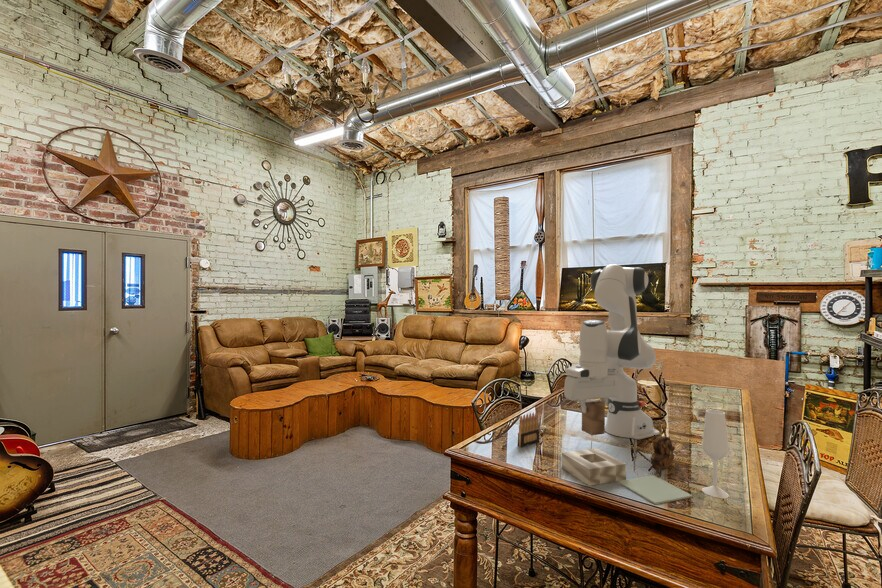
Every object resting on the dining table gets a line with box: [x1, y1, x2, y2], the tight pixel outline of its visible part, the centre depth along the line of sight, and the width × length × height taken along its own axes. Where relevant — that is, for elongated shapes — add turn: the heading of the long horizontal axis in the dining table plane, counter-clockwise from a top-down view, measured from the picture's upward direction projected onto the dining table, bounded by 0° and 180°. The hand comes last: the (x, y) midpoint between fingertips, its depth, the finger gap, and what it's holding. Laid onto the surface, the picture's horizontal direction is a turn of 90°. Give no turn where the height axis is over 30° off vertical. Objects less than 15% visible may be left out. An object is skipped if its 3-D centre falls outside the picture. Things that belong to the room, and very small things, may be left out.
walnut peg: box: [581, 399, 606, 436], centre depth 133 cm, size 5×5×10 cm
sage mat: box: [617, 474, 693, 505], centre depth 121 cm, size 14×14×1 cm
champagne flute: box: [701, 409, 730, 499], centre depth 120 cm, size 7×7×24 cm
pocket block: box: [561, 447, 627, 487], centre depth 132 cm, size 14×14×5 cm
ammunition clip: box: [517, 411, 540, 448], centre depth 159 cm, size 11×2×12 cm, turn 126°
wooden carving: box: [650, 435, 676, 471], centre depth 138 cm, size 16×5×10 cm, turn 137°
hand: (593, 411), depth 133 cm, fingers closed on walnut peg, 5 cm apart
